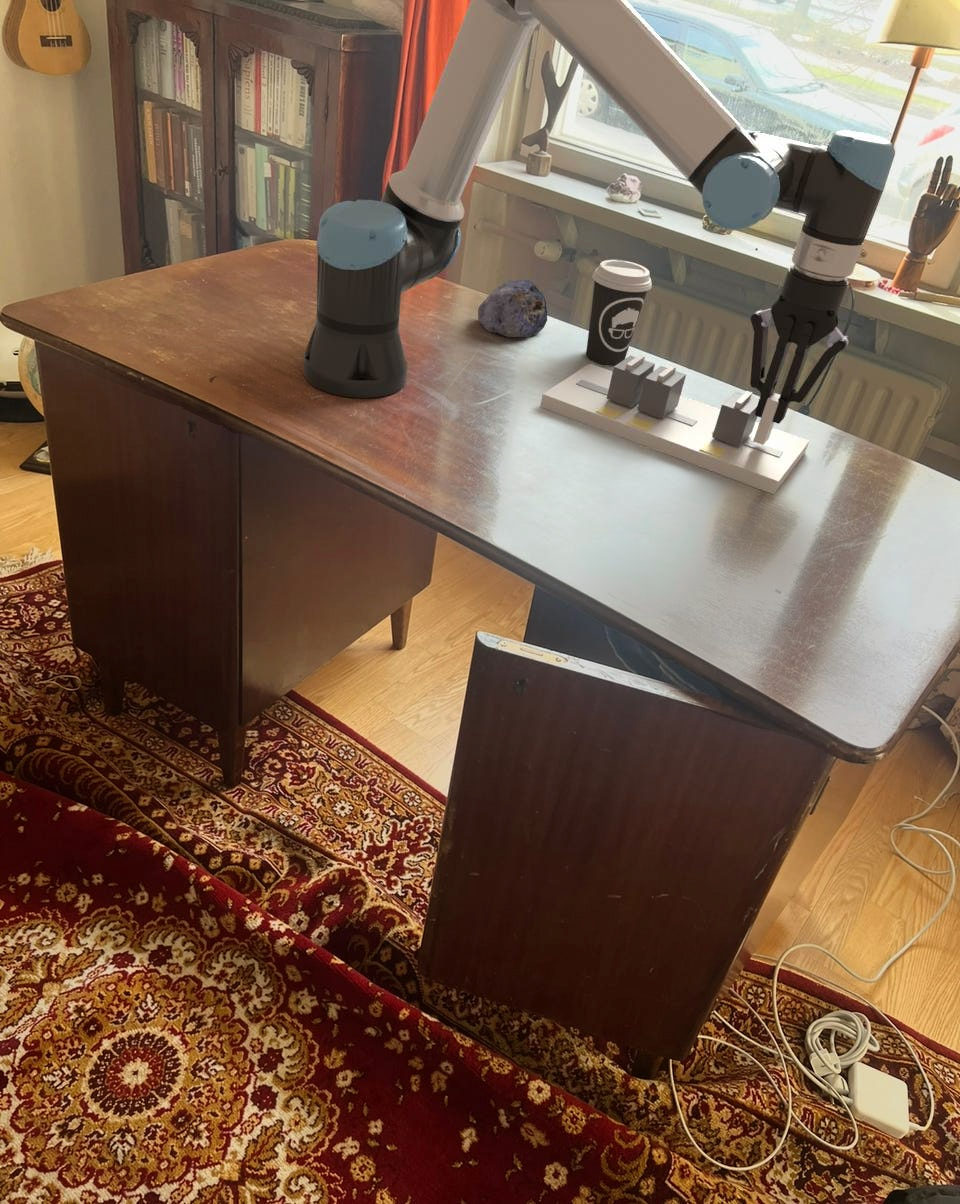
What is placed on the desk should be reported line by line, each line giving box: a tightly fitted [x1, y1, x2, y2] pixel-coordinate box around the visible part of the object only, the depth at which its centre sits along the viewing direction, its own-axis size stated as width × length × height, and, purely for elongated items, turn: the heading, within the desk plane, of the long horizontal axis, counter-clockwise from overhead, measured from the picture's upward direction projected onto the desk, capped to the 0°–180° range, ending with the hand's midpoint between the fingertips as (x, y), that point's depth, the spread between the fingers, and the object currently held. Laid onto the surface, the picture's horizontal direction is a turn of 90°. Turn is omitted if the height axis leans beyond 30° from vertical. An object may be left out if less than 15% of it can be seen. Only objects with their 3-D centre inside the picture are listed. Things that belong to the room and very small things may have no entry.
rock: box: [477, 279, 548, 338], centre depth 158 cm, size 11×10×10 cm
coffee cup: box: [585, 259, 653, 367], centre depth 150 cm, size 10×10×15 cm
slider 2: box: [637, 364, 687, 419], centre depth 134 cm, size 4×6×6 cm, turn 149°
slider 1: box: [607, 354, 656, 408], centre depth 135 cm, size 4×6×6 cm, turn 149°
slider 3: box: [712, 390, 760, 447], centre depth 130 cm, size 4×6×6 cm, turn 149°
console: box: [540, 363, 810, 495], centre depth 135 cm, size 36×16×2 cm, turn 59°
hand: (761, 439), depth 129 cm, fingers closed
